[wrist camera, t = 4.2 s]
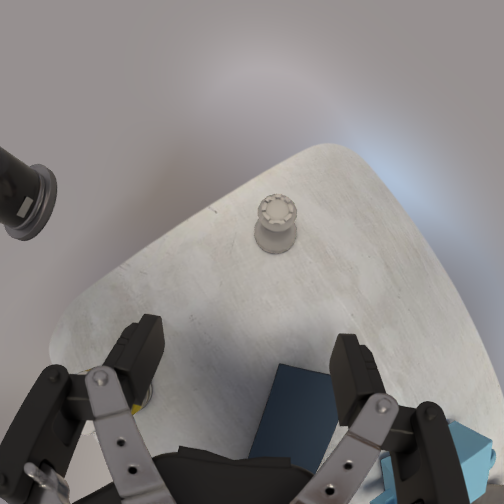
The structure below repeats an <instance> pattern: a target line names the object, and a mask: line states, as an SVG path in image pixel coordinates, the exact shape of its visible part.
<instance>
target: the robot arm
mask: <svg viewBox="0 0 504 504" xmlns="http://www.w3.org/2000/svg"><path fill="white" fill-rule="evenodd" d="M43 195H44V179H43V177H42V175H41V174H40V173H39V172H37V171H36V170H34V169H32V168H30V167H29V166H27V165H26V164H24V163H23V162H22V161H20V160H19V159H17V158H16V157H14V156H13V155H11V154H10V153H9V152H7V151H6V150H4V149H3V148H1V147H0V223H2V224H4V225H7V226H8V227H10V228H12V229H15V230H21V229H23V228H25V227H26V226H27V225H28V224H29V223H30V222H31V221H32V220H33V219H34V217H35V216H36V214H37V212H38V210H39V208H40V205H41V203H42V199H43ZM164 348H165V340H164V333H163V325H162V318H161V316H156V315H150V314H144V315H143V316H142V318H141V320H140V321H139V323H132V324H131V325H129V326H128V327H126V328H125V329H124V331H123V332H122V334H121V336H120V338H119V339H118V340H117V343H116V344H115V345H114V347H113V349H112V350H111V352H110V353H109V355H108V357H107V358H106V360H105V362H104V363H103V365H102V366H97V367H94V368H92V369H91V370H89V371H88V373H87V374H69V373H68V371H67V369H66V368H65V367H64V366H62V365H58V364H55V365H50V366H48V367H46V368H45V369H44V370H43V371H42V373H41V374H40V376H39V377H38V379H37V380H36V382H35V384H34V385H33V387H32V389H31V390H30V392H29V393H28V395H27V397H26V398H25V400H24V402H23V404H22V405H21V407H20V409H19V411H18V413H17V414H16V416H15V418H14V420H13V422H12V423H11V425H10V427H9V429H8V431H7V433H6V435H5V437H4V439H3V441H2V443H1V445H0V498H2V499H4V500H5V501H6V502H7V503H9V504H70V501H69V492H70V490H69V486H68V483H67V481H66V480H65V479H64V478H65V475H66V472H67V469H68V466H69V463H70V461H71V458H72V456H73V453H74V450H75V448H76V445H77V442H78V440H79V438H80V435H81V433H82V430H83V428H84V426H85V423H86V421H87V420H89V421H93V424H94V428H95V431H96V434H97V437H98V441H99V444H100V447H101V450H102V452H103V455H104V458H105V461H106V464H107V466H108V469H109V471H110V474H111V476H112V479H113V482H111V483H109V484H108V485H106V486H104V487H102V488H100V489H99V490H97V491H95V492H93V493H91V494H89V495H87V496H85V497H83V498H81V499H79V500H78V501H76V502H74V503H72V504H348V503H349V502H350V500H351V499H352V497H353V496H354V494H355V493H356V491H357V490H358V488H359V487H360V485H361V484H362V482H363V481H364V479H365V477H366V476H367V474H368V473H369V471H370V469H371V468H372V466H373V464H374V462H375V461H376V459H377V457H378V455H379V454H380V452H381V450H385V451H390V457H391V463H392V469H393V475H394V482H395V489H396V497H397V504H470V500H469V496H468V491H467V487H466V483H465V479H464V475H463V471H462V468H461V464H460V461H459V457H458V454H457V451H456V447H455V444H454V441H453V438H452V435H451V432H450V429H449V426H448V423H447V420H446V418H445V415H444V412H443V410H442V408H441V407H440V406H439V405H437V404H436V403H434V402H429V401H426V402H423V403H421V404H420V405H419V406H418V407H417V408H410V407H404V406H400V405H398V403H397V401H396V400H395V399H394V398H393V397H392V396H390V395H388V394H386V391H385V388H384V385H383V382H382V379H381V377H380V374H379V371H378V369H377V365H376V363H375V360H374V357H373V355H372V352H371V351H370V350H369V349H368V348H367V347H366V346H365V345H359V342H358V339H357V336H356V335H355V334H338V336H337V339H336V342H335V345H334V348H333V351H332V354H331V357H330V363H329V369H330V375H331V380H332V386H333V391H334V396H335V402H336V408H337V413H338V419H339V425H340V426H348V429H349V430H348V431H347V433H346V434H345V435H344V437H343V438H342V440H341V441H340V442H339V444H338V445H337V447H336V448H335V449H334V451H333V452H332V453H331V455H330V456H329V457H328V459H327V460H326V461H325V463H324V464H323V465H322V466H321V468H320V469H319V470H318V471H317V473H316V474H315V475H314V474H313V473H312V472H310V471H308V470H307V469H305V468H302V467H300V466H297V465H294V464H291V457H267V456H262V457H255V458H248V459H240V460H232V459H229V458H226V457H223V456H220V455H217V454H214V453H212V452H209V451H206V450H200V449H194V448H188V447H183V446H179V449H178V452H172V453H165V454H161V455H158V456H155V457H153V458H152V457H151V455H150V453H149V451H148V449H147V447H146V445H145V443H144V440H143V438H142V436H141V434H140V432H139V429H138V427H137V425H136V422H135V420H134V418H133V415H132V413H131V409H132V406H133V404H135V405H139V406H142V404H143V401H144V399H145V396H146V394H147V391H148V389H149V386H150V384H151V381H152V379H153V377H154V374H155V372H156V369H157V367H158V365H159V362H160V360H161V358H162V355H163V352H164Z"/></svg>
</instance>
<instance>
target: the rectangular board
mask: <svg viewBox="0 0 504 504" xmlns="http://www.w3.org/2000/svg"><path fill="white" fill-rule="evenodd" d="M338 420H339V419H338V413H337V408H336V402H335V396H334V391H333V386H332V380H331V375H329V374H324V373H320V372H315V371H310V370H306V369H301V368H297V367H293V366H289V365H284V364H279V367H278V370H277V373H276V376H275V379H274V383H273V386H272V389H271V392H270V395H269V398H268V401H267V404H266V407H265V410H264V413H263V416H262V419H261V422H260V425H259V428H258V431H257V434H256V437H255V439H254V442H253V445H252V448H251V451H250V453H249V456H248V458H255V457H262V456H267V457H291V464H294V465H297V466H300V467H302V468H305V469H307V470H308V471H310V472H312V473H313V474H314V475H315V474H316V471H317V469H318V467H319V465H320V463H321V461H322V458H323V456H324V454H325V452H326V449H327V447H328V445H329V442H330V440H331V438H332V435H333V433H334V430H335V428H336V425H337V423H338Z"/></svg>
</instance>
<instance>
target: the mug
mask: <svg viewBox="0 0 504 504" xmlns="http://www.w3.org/2000/svg"><path fill="white" fill-rule="evenodd" d="M471 504H504V485H492V484H487V486H486V491H485V493H484V494H483V495H481V496H480V497H479V498H477V499H476V500H475V501H473V502H472V503H471Z"/></svg>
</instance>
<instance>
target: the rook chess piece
mask: <svg viewBox="0 0 504 504" xmlns="http://www.w3.org/2000/svg"><path fill="white" fill-rule="evenodd" d="M258 217H259V219H258V221H257V223H256V224H255V232H254V236H255V239H256V242H257V244H258V245H259V246H260V247H261V248H262V249H263V250H265V251H267V252H269V253H281V252H284V251H287V250H288V249H289V248H290V247H291V246H292V245H293V244H294V241H295V239H296V230H297V227H296V225H295V219H296V217H297V209H296V207H295V204H294V202H293V201H292V200H291V199H290V198H288V197H286V196H284V195H281V194H273V195H270V196H267V197H266V198H265V199H264V200H262V201H261V203H260V205H259V207H258Z"/></svg>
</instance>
